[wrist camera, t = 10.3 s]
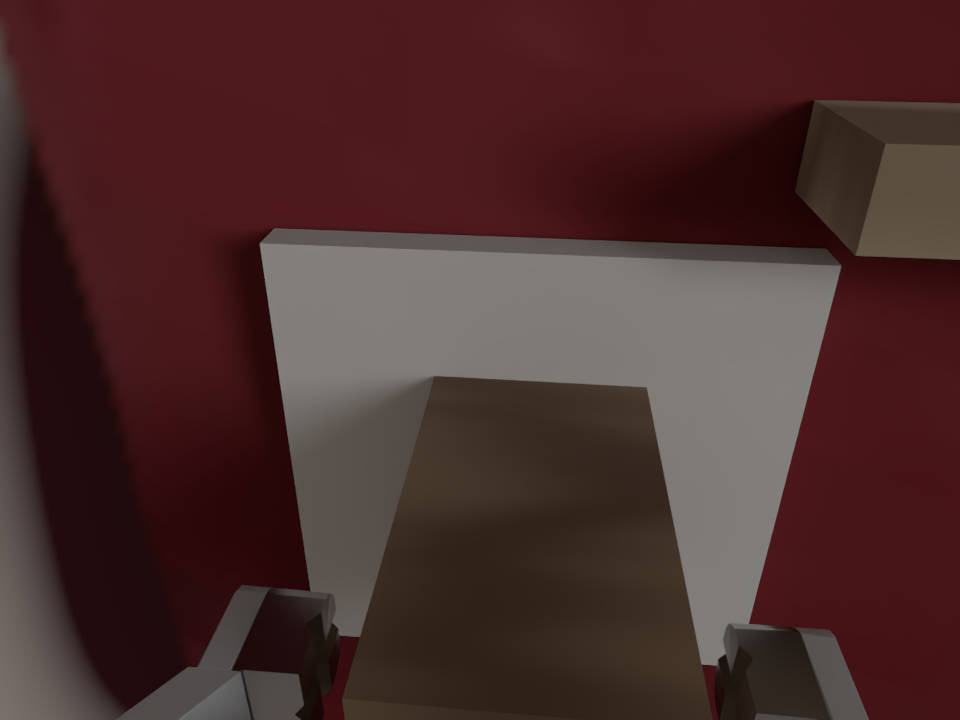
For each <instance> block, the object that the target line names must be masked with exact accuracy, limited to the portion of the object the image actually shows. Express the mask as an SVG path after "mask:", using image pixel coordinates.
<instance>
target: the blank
mask: <svg viewBox="0 0 960 720" xmlns="http://www.w3.org/2000/svg"><path fill="white" fill-rule="evenodd" d="M342 701H343V708H344V716H345V720H712V715H711V710H710V705H709V700H708V694H707V689H706V684H705V679H704V674H703V669H702V664H701V659H700V654H699V649H698V644H697V639H696V634H695V629H694V624H693V619H692V614H691V609H690V603H689V598H688V593H687V588H686V583H685V578H684V573H683V568H682V563H681V558H680V553H679V548H678V543H677V538H676V533H675V528H674V523H673V518H672V513H671V507H670V502H669V497H668V492H667V487H666V482H665V477H664V472H663V467H662V462H661V457H660V452H659V447H658V442H657V437H656V432H655V427H654V422H653V416H652V411H651V406H650V401H649V396H648V391H647V387H632V386H614V385H595V384H576V383H558V382H539V381H520V380H502V379H483V378H464V377H446V376H435V377H434V380H433V384H432V387H431V391H430V394H429V398H428V401H427V405H426V408H425V412H424V415H423V419H422V422H421V426H420V429H419V433H418V436H417V440H416V443H415V447H414V450H413V453H412V457H411V460H410V464H409V467H408V471H407V474H406V478H405V481H404V485H403V488H402V492H401V495H400V499H399V502H398V506H397V509H396V513H395V516H394V520H393V523H392V527H391V530H390V534H389V537H388V541H387V544H386V548H385V551H384V555H383V558H382V562H381V565H380V569H379V572H378V576H377V579H376V583H375V586H374V590H373V593H372V597H371V600H370V604H369V607H368V611H367V614H366V618H365V621H364V625H363V628H362V631H361V635H360V638H359V642H358V645H357V649H356V652H355V656H354V659H353V663H352V666H351V670H350V673H349V677H348V680H347V684H346V687H345V691H344V694H343V698H342Z"/></svg>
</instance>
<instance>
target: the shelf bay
mask: <svg viewBox="0 0 960 720" xmlns="http://www.w3.org/2000/svg"><path fill="white" fill-rule="evenodd" d="M795 192H796V193H797V195H798V196H799V197H800V198H801V199H802V200H803V201H804V202H805V203H806V204H807V205H808V206H809V207H810V208H811V209H812V210H813V211H814V212H815V213H816V215H817V216H818V217H819V218H820V219H821V220H822V221H823V222H824V223H825V224H826V225H827V226H828V227H829V228H830V229H831V230H832V231H833V232H834V234H835V235H836V236H837V237H838V238H839V239H840V240H841V241H842V242H843V243H844V244H845V245H846V246H847V247H848V248H849V249H850V250H851V251H852V252H853V254H854V255H855V256H875V257H901V258H928V259H955V260H960V103H925V102H880V101H834V100H814V105H813V110H812V114H811V119H810V124H809V128H808V133H807V138H806V142H805V147H804V151H803V156H802V161H801V165H800V170H799V175H798V179H797V184H796V189H795Z"/></svg>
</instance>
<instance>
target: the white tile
mask: <svg viewBox="0 0 960 720" xmlns="http://www.w3.org/2000/svg"><path fill="white" fill-rule="evenodd" d="M260 250H261V256H262V263H263V270H264V277H265V284H266V290H267V297H268V304H269V311H270V318H271V325H272V331H273V338H274V345H275V352H276V359H277V365H278V372H279V379H280V386H281V393H282V400H283V406H284V413H285V420H286V427H287V434H288V440H289V447H290V454H291V461H292V468H293V475H294V481H295V488H296V495H297V502H298V509H299V515H300V522H301V529H302V536H303V543H304V550H305V556H306V563H307V570H308V577H309V584H310V591H312V592H322V593H330V594H333V595H334V599H335V605H336V612H335V615H334V618H333V621H332V623H333V624H334V625H335V626H336V627H337V628H338V629H339V635H341V636H354V637H360V635H361V631H362V628H363V625H364V621H365V618H366V614H367V611H368V607H369V604H370V600H371V597H372V593H373V590H374V586H375V583H376V579H377V576H378V572H379V569H380V565H381V562H382V558H383V555H384V551H385V548H386V544H387V541H388V537H389V534H390V530H391V527H392V523H393V520H394V516H395V513H396V509H397V506H398V502H399V499H400V495H401V492H402V488H403V485H404V481H405V478H406V474H407V471H408V467H409V464H410V460H411V457H412V453H413V450H414V447H415V443H416V440H417V436H418V433H419V429H420V426H421V422H422V419H423V415H424V412H425V408H426V405H427V401H428V398H429V394H430V391H431V387H432V384H433V380H434V377H435V376H446V377H464V378H483V379H502V380H520V381H539V382H558V383H576V384H595V385H614V386H632V387H647V391H648V396H649V401H650V406H651V411H652V416H653V422H654V427H655V432H656V437H657V442H658V447H659V452H660V457H661V462H662V467H663V472H664V477H665V482H666V487H667V492H668V497H669V502H670V507H671V513H672V518H673V523H674V528H675V533H676V538H677V543H678V548H679V553H680V558H681V563H682V568H683V573H684V578H685V583H686V588H687V593H688V598H689V603H690V609H691V614H692V619H693V624H694V629H695V634H696V639H697V644H698V649H699V654H700V659H701V664H705V665H717V662H718V659H719V658H720V657H722V656H723V655H725V654H726V652H725V647H724V643H723V637H724V633H725V629H726V627H727V626H728V624H729V623H738V624H749V620H750V616H751V612H752V608H753V605H754V601H755V597H756V593H757V589H758V585H759V581H760V578H761V574H762V570H763V566H764V562H765V558H766V555H767V551H768V547H769V543H770V539H771V535H772V531H773V528H774V524H775V520H776V516H777V512H778V508H779V504H780V501H781V497H782V493H783V489H784V485H785V481H786V477H787V474H788V470H789V466H790V462H791V458H792V454H793V451H794V447H795V443H796V439H797V435H798V431H799V427H800V424H801V420H802V416H803V412H804V408H805V404H806V400H807V397H808V393H809V389H810V385H811V381H812V377H813V373H814V370H815V366H816V362H817V358H818V354H819V350H820V347H821V343H822V339H823V335H824V331H825V327H826V323H827V320H828V316H829V312H830V308H831V304H832V300H833V296H834V293H835V289H836V285H837V281H838V277H839V273H840V269H841V265H840V264H839V262H838V261H837V260H836V259H835V258H834V257H833V256H832V254H831V253H830V252H829V251H828V250H827V249H820V248H793V247H766V246H739V245H712V244H685V243H658V242H631V241H603V240H576V239H549V238H522V237H495V236H468V235H441V234H414V233H387V232H359V231H332V230H305V229H278V228H274V229H273V230H272V231H271V232H270V233H269V234H268V235H267V236H266V237H265V238H264V239H263V240H262V241H261V242H260Z"/></svg>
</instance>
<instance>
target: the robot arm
mask: <svg viewBox="0 0 960 720" xmlns="http://www.w3.org/2000/svg"><path fill="white" fill-rule="evenodd" d="M335 612H336V605H335V599H334V595H333V594H330V593H322V592H312V591H302V590H293V589H283V588H273V587H272V588H269V587H259V586H249V585H242V586H241V587H240V588H239V589H238V590H237V591H236V592H235V593H234V595H233V597H232V599H231V601H230V603H229V605H228V607H227V609H226V611H225V613H224V615H223V617H222V619H221V621H220V623H219V625H218V627H217V629H216V631H215V633H214V635H213V637H212V639H211V641H210V643H209V645H208V647H207V649H206V651H205V653H204V655H203V656H202V658H201V660H200V662H199V664H198V666H197V667H187V668H186V669H185V670H183V671H182V672H180V673H179V674H178V675H176V676H175V677H174V678H172V679H171V680H170V681H168V682H167V683H165V684H164V685H163V686H161V687H160V688H159V689H157V690H156V691H154V692H153V693H152V694H150V695H149V696H148V697H146V698H145V699H144V700H142V701H141V702H140V703H138V704H137V705H135V706H134V707H132V708H131V709H130V710H128V711H127V712H126V713H124V714H123V715H122V716H120V717H119V718H117V719H116V720H322V719H323V716H324V710H323V702H322V697H323V696H324V695H325V694H326V693H327V692H328V691H330V690H331V689H332V686H333V683H334V679H335V676H336V672H337V666H338V660H339V654H340V637H339V629H338V628H337V627H336V626H335V625H334V624H333V623H332V621H333V618H334V615H335ZM723 643H724V647H725V652H726V654H725V655H723V656H722V657H720V658H719V659H718V662H717V667H716V672H715V701H716V709H717V714H718V719H719V720H869V719H868V717H867V714H866V712H865V709H864V707H863V705H862V702H861V700H860V697H859V695H858V692H857V690H856V687H855V685H854V682H853V680H852V677H851V675H850V673H849V670H848V668H847V665H846V663H845V660H844V658H843V655H842V653H841V650H840V648H839V645H838V643H837V641H836V638H835V636H834V635H833V634H832V633H831V631H830V630H823V629H809V628H793V627H784V626H769V625H753V624H738V623H729V624H728V626H727V627H726V629H725V633H724V637H723Z"/></svg>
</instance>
